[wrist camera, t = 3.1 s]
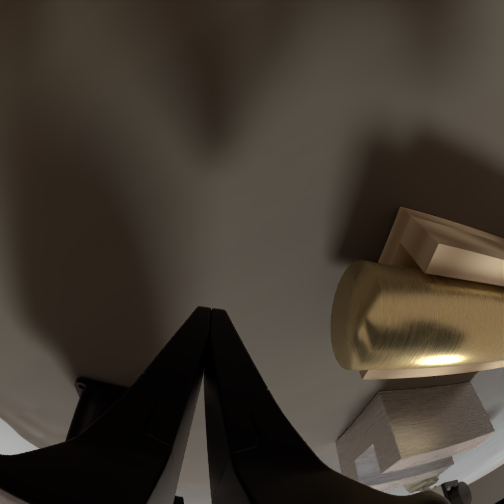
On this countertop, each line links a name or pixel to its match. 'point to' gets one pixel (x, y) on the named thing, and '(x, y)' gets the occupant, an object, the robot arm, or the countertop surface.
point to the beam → (441, 267)
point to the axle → (414, 319)
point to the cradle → (412, 434)
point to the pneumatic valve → (444, 489)
